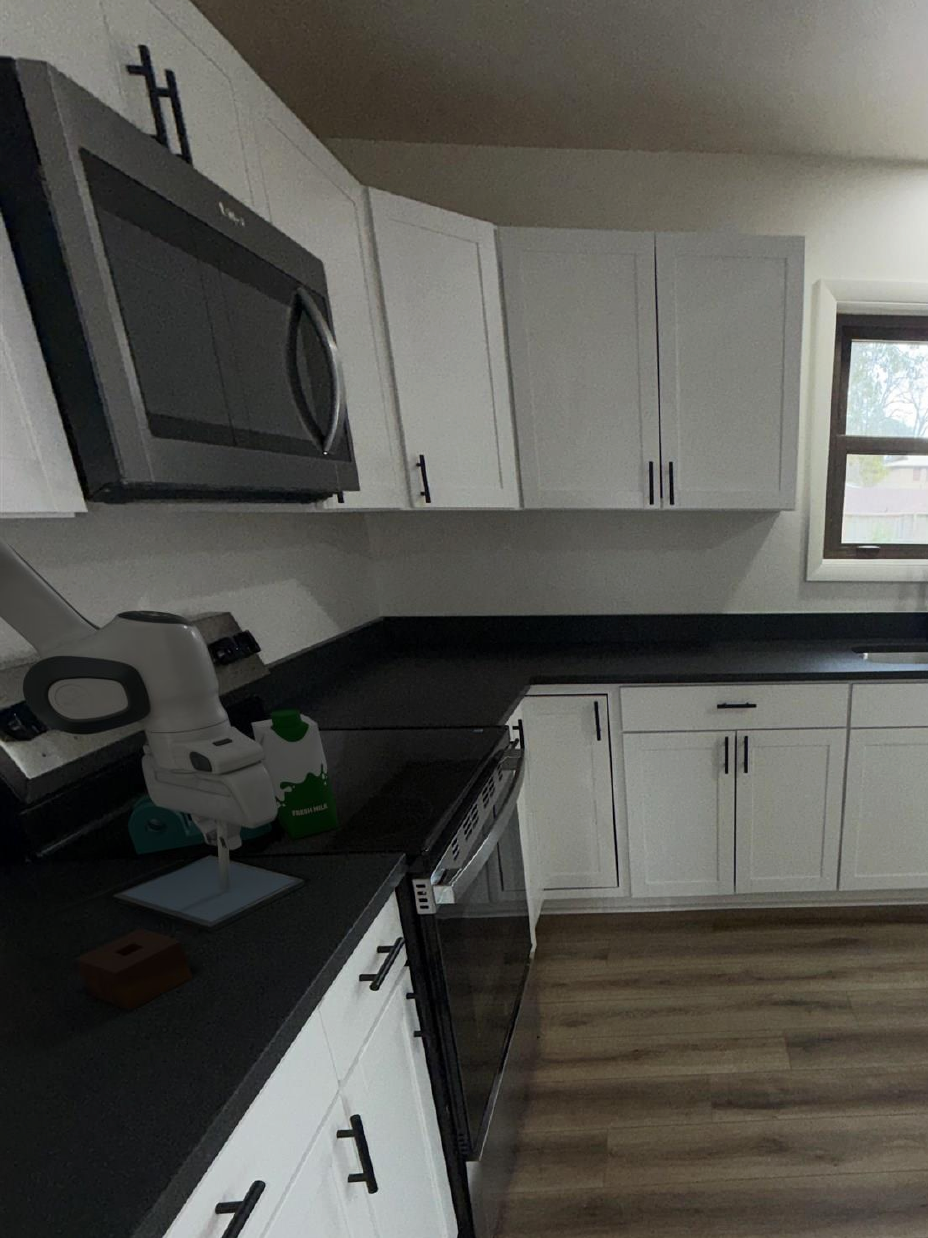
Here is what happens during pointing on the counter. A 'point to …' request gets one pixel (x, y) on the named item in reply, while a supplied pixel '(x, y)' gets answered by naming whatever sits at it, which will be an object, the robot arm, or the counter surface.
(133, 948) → the pen holder
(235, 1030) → the counter surface
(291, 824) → the milk carton
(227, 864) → the stylus
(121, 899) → the plate
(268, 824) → the bracket
